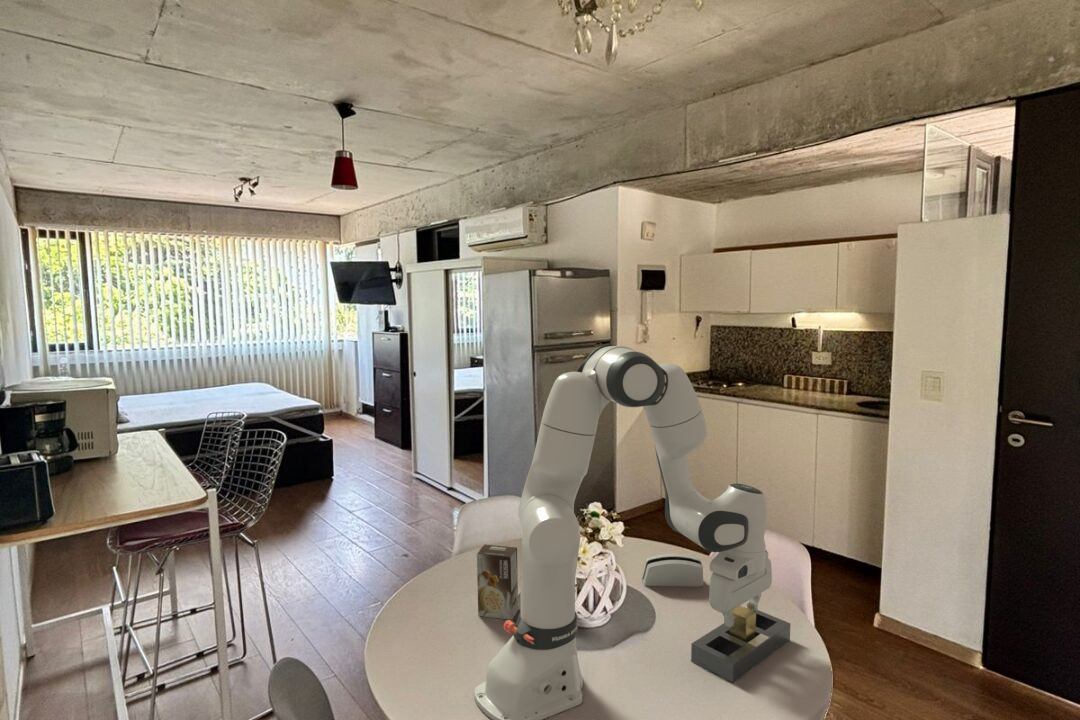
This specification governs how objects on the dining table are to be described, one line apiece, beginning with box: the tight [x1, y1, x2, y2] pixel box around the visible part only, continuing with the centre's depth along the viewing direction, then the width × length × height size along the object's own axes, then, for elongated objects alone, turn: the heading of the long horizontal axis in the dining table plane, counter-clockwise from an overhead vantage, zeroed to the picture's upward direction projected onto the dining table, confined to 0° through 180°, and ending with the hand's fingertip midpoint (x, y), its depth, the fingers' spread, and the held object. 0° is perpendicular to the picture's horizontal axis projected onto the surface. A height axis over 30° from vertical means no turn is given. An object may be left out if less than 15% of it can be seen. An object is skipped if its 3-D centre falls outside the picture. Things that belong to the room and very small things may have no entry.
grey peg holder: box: [690, 609, 791, 684], centre depth 130 cm, size 24×10×4 cm, turn 131°
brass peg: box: [729, 605, 756, 643], centre depth 130 cm, size 4×4×9 cm
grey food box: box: [476, 544, 519, 621], centre depth 147 cm, size 9×6×16 cm
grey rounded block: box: [641, 553, 704, 587], centre depth 162 cm, size 17×5×10 cm, turn 88°
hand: (741, 618), depth 130 cm, fingers open, 8 cm apart
